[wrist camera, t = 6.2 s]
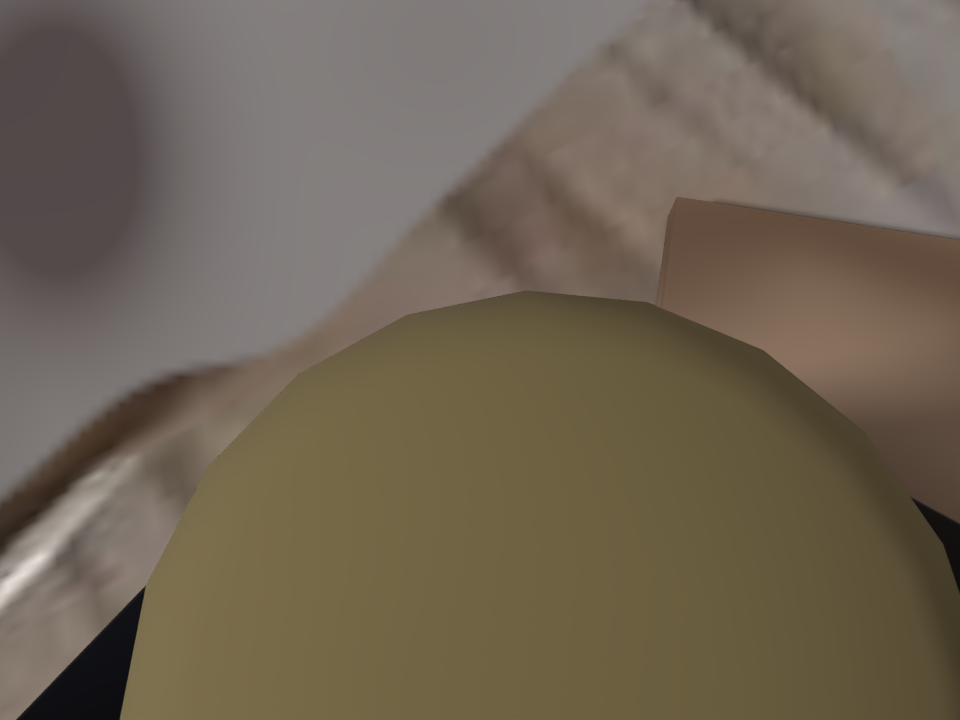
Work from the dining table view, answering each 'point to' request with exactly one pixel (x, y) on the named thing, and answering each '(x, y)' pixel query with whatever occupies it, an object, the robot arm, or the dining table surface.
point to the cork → (549, 538)
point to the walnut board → (837, 322)
